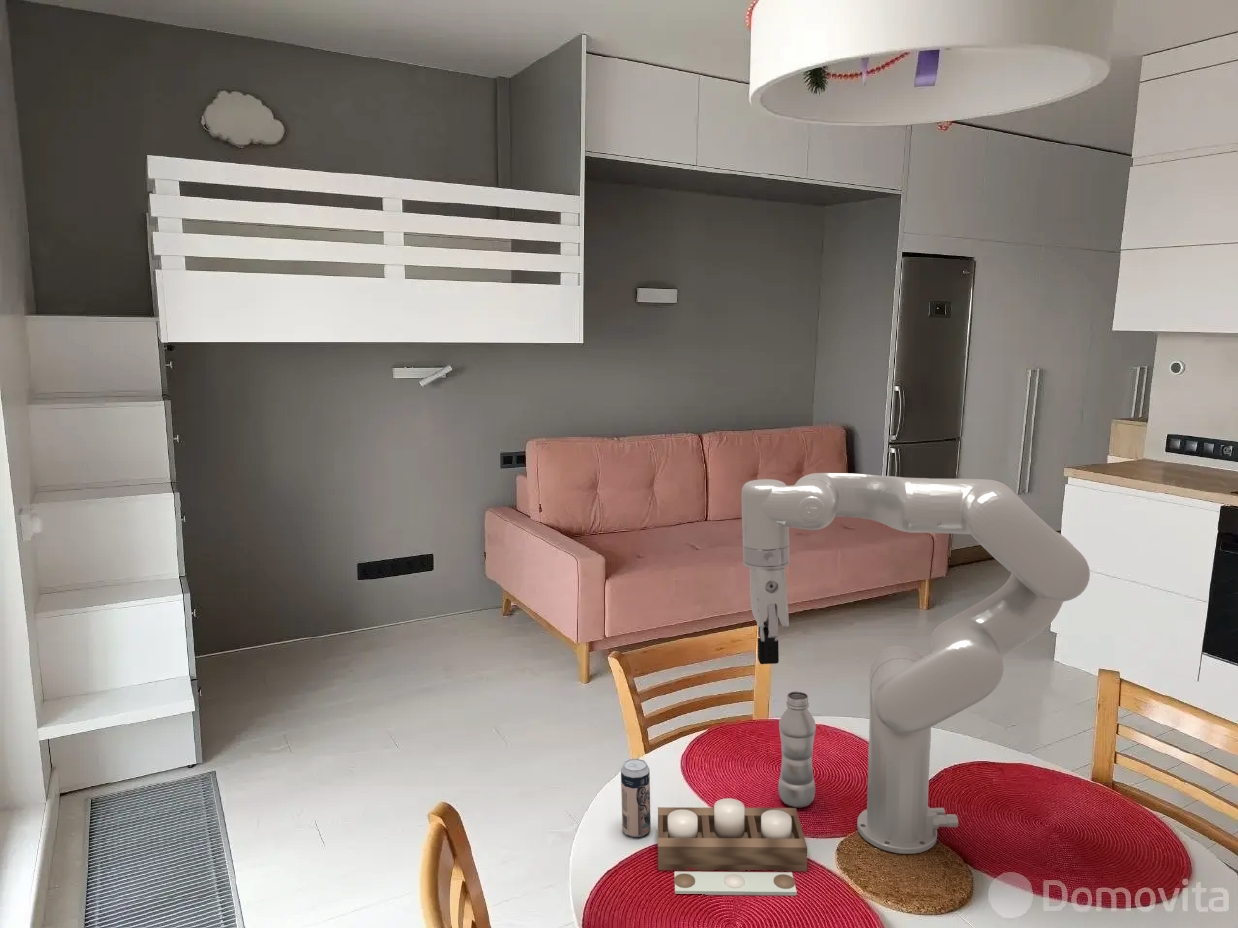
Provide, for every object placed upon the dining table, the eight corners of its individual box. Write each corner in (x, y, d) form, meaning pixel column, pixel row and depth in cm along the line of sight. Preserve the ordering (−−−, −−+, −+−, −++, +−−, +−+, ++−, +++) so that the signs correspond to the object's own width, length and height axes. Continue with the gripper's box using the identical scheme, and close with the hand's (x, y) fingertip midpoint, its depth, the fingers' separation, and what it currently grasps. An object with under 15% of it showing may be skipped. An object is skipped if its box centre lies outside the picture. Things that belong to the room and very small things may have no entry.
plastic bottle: (818, 796, 153) (820, 690, 150) (810, 816, 147) (812, 706, 144) (783, 789, 156) (784, 685, 153) (773, 808, 150) (774, 700, 146)
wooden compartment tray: (795, 829, 143) (795, 807, 142) (806, 871, 132) (807, 847, 131) (658, 829, 144) (657, 807, 143) (658, 869, 133) (657, 846, 133)
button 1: (697, 834, 141) (696, 809, 140) (698, 851, 136) (698, 826, 135) (667, 833, 141) (667, 809, 140) (668, 851, 136) (667, 826, 135)
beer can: (648, 840, 141) (646, 772, 139) (619, 837, 142) (618, 770, 140) (652, 824, 146) (651, 758, 144) (625, 821, 147) (623, 756, 145)
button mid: (742, 823, 140) (742, 798, 139) (745, 840, 135) (745, 814, 134) (713, 822, 140) (713, 798, 139) (715, 840, 135) (715, 814, 135)
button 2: (788, 834, 140) (789, 809, 139) (793, 852, 135) (793, 826, 134) (759, 834, 140) (759, 809, 139) (763, 852, 135) (763, 826, 135)
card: (792, 875, 131) (792, 871, 131) (797, 895, 127) (797, 890, 126) (673, 874, 132) (673, 870, 132) (674, 894, 127) (674, 889, 127)
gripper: (798, 566, 132) (800, 678, 135) (780, 543, 147) (782, 644, 150) (750, 568, 132) (752, 680, 135) (736, 545, 147) (739, 646, 150)
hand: (768, 661), depth 143 cm, fingers closed
